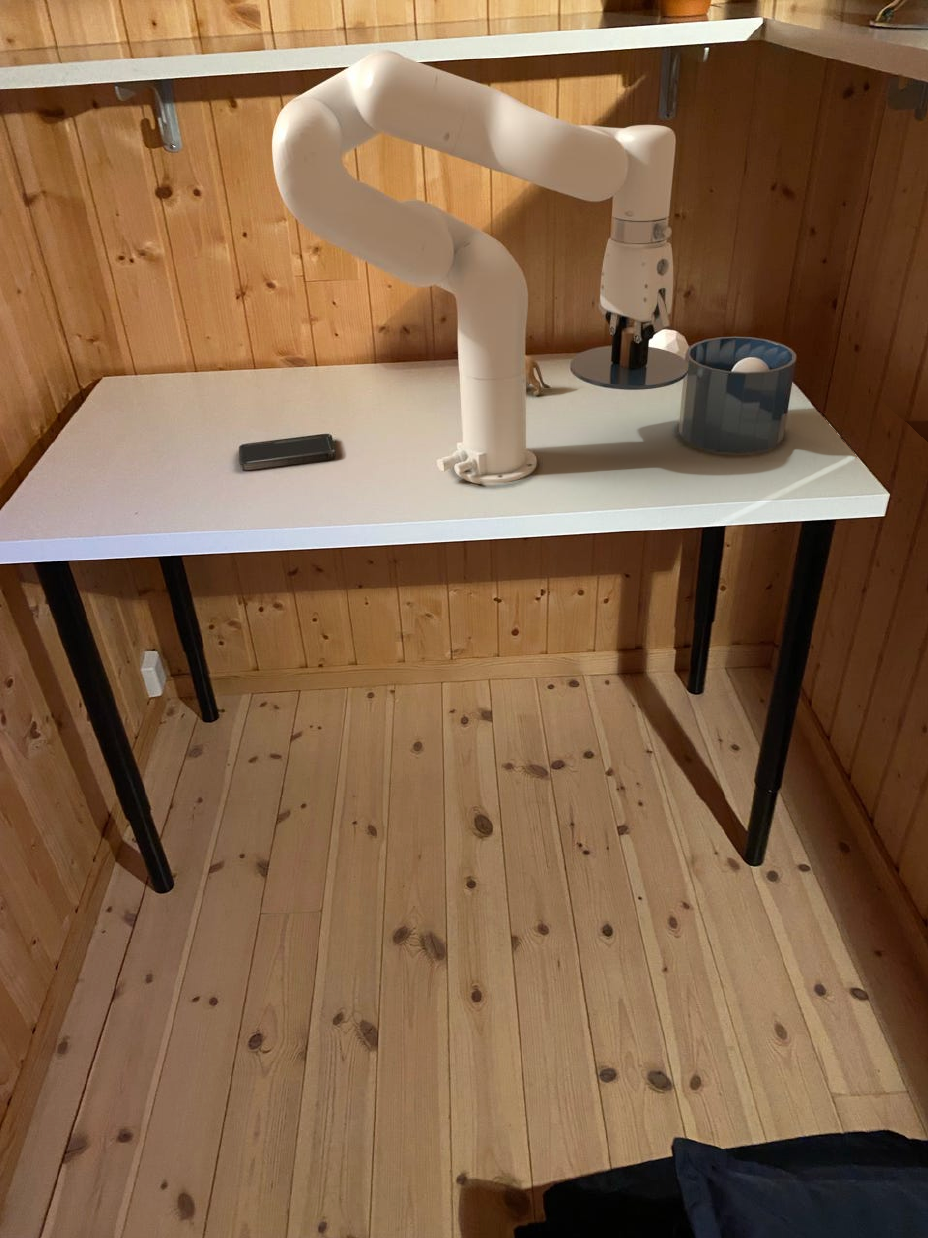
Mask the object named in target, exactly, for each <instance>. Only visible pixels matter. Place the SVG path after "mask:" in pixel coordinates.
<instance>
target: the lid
mask: <svg viewBox="0 0 928 1238" xmlns="http://www.w3.org/2000/svg"><path fill="white" fill-rule="evenodd" d="M632 341H634V326H629V327H627V328H624V329H622V333H621V347H620V361H619V362H617V363H613V362H611V353H612V345H606V346H605V345H604V346H599V347H594V348H591V349H587V350H585V351H581V352H580V353H578V354H576V355H575V356H574V357H573V358H572V359H571V361H570V365H569V367H570V372H571V374H572V375H573V376H574V377H575V378H576V379H579V380H580V381H582V382H584V383H587V384H590V385H593V386H597V387H601V388H606V389H612V390H613V389H614V390H622V391H623V390H624V391H640V390H641V391H642V390H653V389H659V388H664V387H669V386H671V385H674V384H677V383H679V382H681V381H683V378H685V376H686V375H687V373H688V363H687V362H686V360H684V359H683V358H682V357H680V356H679V355H677V354H675V353H672V352H670V351H666V350H663V349H659V348H654V347H649V348H648V360H647V365H646V366H643V367H640V368H637V369H634V370H632V369H629V355H630V344H631V342H632Z"/></svg>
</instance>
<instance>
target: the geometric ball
mask: <svg viewBox="0 0 928 1238" xmlns="http://www.w3.org/2000/svg"><path fill="white" fill-rule="evenodd" d="M649 347H654V348H659V349H663V350H666V351H670V352H672V353H675V354H677V355H679V356H680V357H682V358H683V359H684V360H685V356H686V352H687V349H688V348H689V347H690V345H689V343H688V341H687V340H686V337H685V336H684V335H683V334H681V333H680V332H679V331H677V330H673V329H668V328H667V329H664V330H661V331H658V332H657V333H656V334H655V335H654V337H653V338H652V339H650V340H649Z"/></svg>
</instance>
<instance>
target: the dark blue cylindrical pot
mask: <svg viewBox="0 0 928 1238" xmlns="http://www.w3.org/2000/svg"><path fill="white" fill-rule="evenodd" d="M749 357H755V358H759V359H761V360H762V361H764V362H765V363H766V364H767V366H768V367H769V370H767V371H761V372H732V369H733V367H734V366H735V365H736V364H737V363H738V362H739V361H741V360H742V359H745V358H749ZM685 360H686V362H687V363H688V373H687V375H686V376H685V378H683V379H682V389H681V401H680V410H679V421H678V433H679V434H680V437H681V438H683V439H684V440H685V441H686V442H688V443H689V444H691V445H694V446H696V447H698V448H700V449H704V450H709V451H713V452H717V453H728V454H745V453H746V454H747V453H748V454H749V453H756V452H761V451H765V450H768V449H771V448H773V447H775V446H777V445H778V444H780V443H781V442H782V441H783V439H784V437H785V436H784V435H785V431H786V430H785V429H786V424H787V418H788V413H789V405H790V399H791V395H792V394H791V393H792V387H793V381H794V376H795V375H794V374H795V370H796V363H797V353H795V351H794V350H793V348H790V347H789V346H786V345H785V344H783V343H781V342H777V341H773V340H769V339H766V338H765V339H764V338H758V337H752V336H722V337H714V338H708V339H707V338H706V339H704V340H702V341H698V342H694V343H693V344H691V345H689V348H688V349H687V352H686V356H685Z"/></svg>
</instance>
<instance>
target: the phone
mask: <svg viewBox="0 0 928 1238" xmlns="http://www.w3.org/2000/svg"><path fill="white" fill-rule="evenodd" d="M335 458H336V449H335V445H334V439H333V435H332V434H331V433H320V434H313V435H303V436H297V437H289V438H288V437H287V438H279V439H272V440H264V441H257V442H256V441H255V442H247V443H242V444H240V445H239V446H238V464H239V469H240V470H242V471H250V470H251V471H253V470H261V469H269V468H275V467H283V466H291V465H299V464H306V463H314V462H323V461H329V460H333V459H335Z"/></svg>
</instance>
